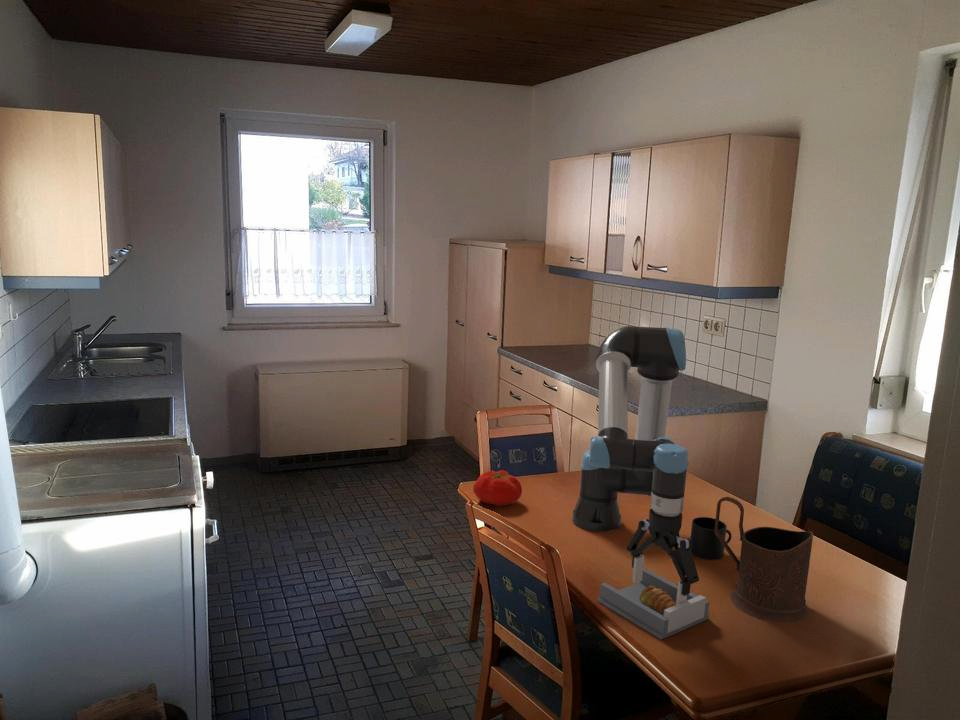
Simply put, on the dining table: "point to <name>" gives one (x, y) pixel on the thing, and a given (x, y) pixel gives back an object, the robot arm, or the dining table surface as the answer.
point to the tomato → (497, 488)
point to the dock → (649, 619)
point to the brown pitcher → (770, 571)
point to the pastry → (656, 599)
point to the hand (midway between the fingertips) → (658, 593)
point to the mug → (708, 538)
